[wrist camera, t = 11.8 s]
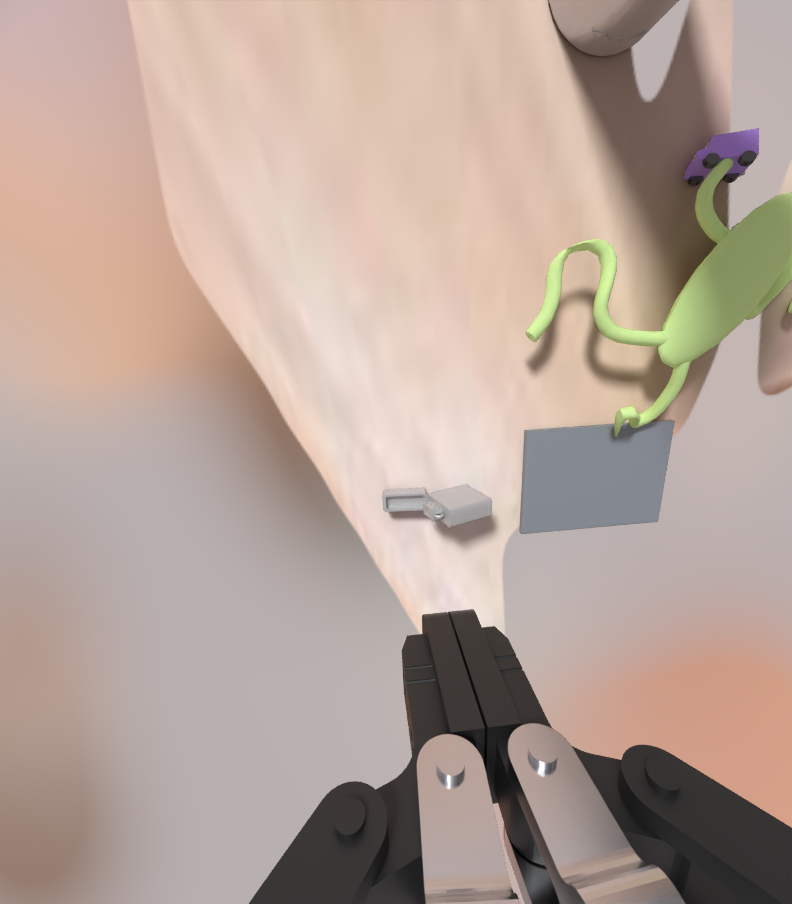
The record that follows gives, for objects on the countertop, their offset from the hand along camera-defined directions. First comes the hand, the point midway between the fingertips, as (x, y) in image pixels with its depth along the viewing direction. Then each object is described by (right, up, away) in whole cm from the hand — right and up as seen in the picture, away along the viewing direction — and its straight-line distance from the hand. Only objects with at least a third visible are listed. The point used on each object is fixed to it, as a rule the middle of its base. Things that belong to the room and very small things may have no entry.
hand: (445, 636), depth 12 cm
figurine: (+23, +20, +25) cm, 39 cm away
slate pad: (+19, +3, +29) cm, 35 cm away
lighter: (+6, +1, +27) cm, 28 cm away
